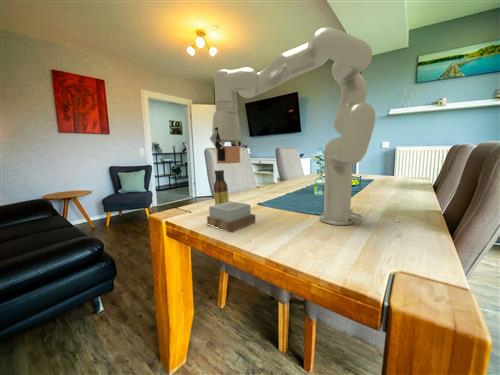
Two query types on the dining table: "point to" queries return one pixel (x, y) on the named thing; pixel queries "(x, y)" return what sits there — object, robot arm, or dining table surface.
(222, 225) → the walnut block
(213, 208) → the slate block
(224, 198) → the sauce bottle
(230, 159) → the terracotta cube
